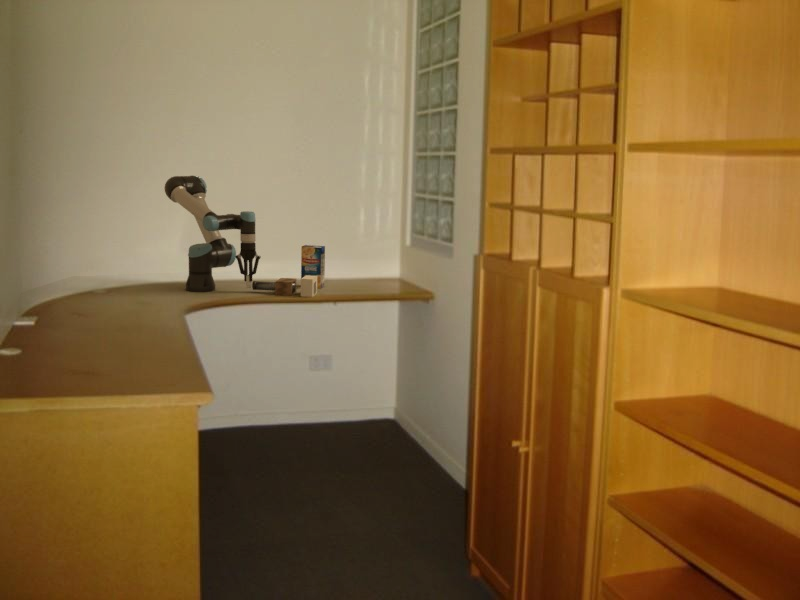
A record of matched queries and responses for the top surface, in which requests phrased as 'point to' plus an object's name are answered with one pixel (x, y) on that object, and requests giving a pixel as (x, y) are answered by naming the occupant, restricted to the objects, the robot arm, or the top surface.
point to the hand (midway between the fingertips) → (248, 287)
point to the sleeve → (284, 287)
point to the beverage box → (313, 263)
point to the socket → (308, 286)
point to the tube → (268, 286)
